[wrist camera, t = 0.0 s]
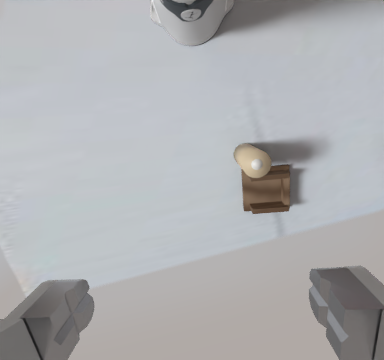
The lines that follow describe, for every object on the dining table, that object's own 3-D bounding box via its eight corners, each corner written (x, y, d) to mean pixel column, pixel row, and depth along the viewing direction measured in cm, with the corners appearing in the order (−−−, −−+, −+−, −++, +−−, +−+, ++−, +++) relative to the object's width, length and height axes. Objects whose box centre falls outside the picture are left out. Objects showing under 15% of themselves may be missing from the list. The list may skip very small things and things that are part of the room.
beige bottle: (233, 144, 53) (241, 152, 39) (254, 142, 52) (271, 148, 39) (234, 165, 54) (243, 179, 41) (255, 163, 54) (271, 176, 40)
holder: (241, 169, 54) (244, 173, 49) (287, 164, 53) (295, 168, 48) (243, 209, 57) (247, 217, 52) (287, 206, 56) (294, 214, 51)
